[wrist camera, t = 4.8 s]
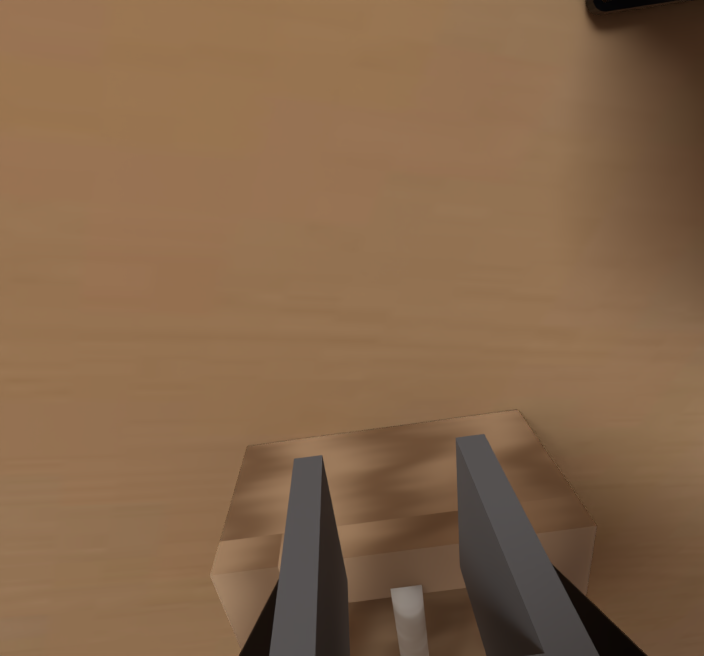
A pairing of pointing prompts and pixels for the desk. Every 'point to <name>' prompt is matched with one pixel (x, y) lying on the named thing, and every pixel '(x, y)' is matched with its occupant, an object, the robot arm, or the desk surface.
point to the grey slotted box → (475, 563)
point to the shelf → (395, 529)
